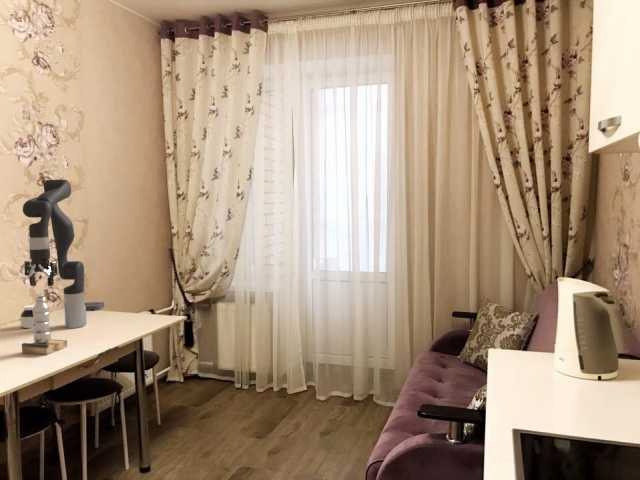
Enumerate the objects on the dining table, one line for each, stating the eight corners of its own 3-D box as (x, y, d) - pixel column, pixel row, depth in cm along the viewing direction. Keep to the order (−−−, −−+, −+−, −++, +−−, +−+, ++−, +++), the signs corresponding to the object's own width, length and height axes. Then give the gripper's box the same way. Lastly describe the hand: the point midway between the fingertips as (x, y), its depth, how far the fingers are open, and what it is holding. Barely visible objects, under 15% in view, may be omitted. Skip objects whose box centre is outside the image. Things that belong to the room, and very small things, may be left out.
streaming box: (105, 309, 301) (105, 301, 301) (99, 313, 289) (98, 305, 288) (83, 310, 299) (82, 302, 299) (75, 314, 287) (75, 306, 287)
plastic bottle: (54, 341, 216) (53, 296, 215) (41, 345, 210) (40, 298, 208) (43, 340, 218) (41, 295, 217) (30, 344, 212) (28, 298, 210)
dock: (43, 345, 221) (43, 336, 220) (67, 346, 218) (66, 337, 218) (22, 353, 209) (21, 343, 209) (46, 355, 206) (46, 345, 206)
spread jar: (23, 331, 247) (21, 308, 246) (18, 327, 256) (17, 305, 255) (49, 327, 255) (48, 305, 254) (44, 323, 263) (43, 302, 263)
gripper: (60, 247, 213) (62, 284, 214) (32, 247, 216) (34, 284, 217) (47, 248, 205) (49, 287, 207) (18, 248, 208) (20, 287, 209)
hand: (41, 285), depth 212 cm, fingers open, 8 cm apart
